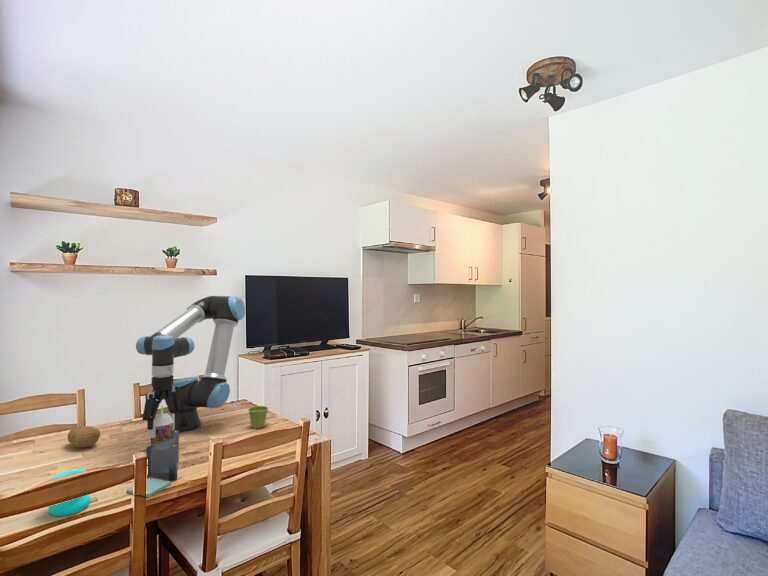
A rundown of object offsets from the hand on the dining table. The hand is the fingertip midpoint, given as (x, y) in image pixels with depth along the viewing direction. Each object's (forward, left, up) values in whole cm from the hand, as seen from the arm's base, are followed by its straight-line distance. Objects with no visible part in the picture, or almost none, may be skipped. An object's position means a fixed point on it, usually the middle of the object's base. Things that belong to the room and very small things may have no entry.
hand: (161, 433), depth 160 cm
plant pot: (+15, +43, -10) cm, 46 cm away
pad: (+17, -21, -9) cm, 28 cm away
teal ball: (+5, -38, -10) cm, 39 cm away
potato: (-38, -2, -10) cm, 40 cm away
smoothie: (0, 0, -10) cm, 10 cm away
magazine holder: (+14, -7, -9) cm, 18 cm away
